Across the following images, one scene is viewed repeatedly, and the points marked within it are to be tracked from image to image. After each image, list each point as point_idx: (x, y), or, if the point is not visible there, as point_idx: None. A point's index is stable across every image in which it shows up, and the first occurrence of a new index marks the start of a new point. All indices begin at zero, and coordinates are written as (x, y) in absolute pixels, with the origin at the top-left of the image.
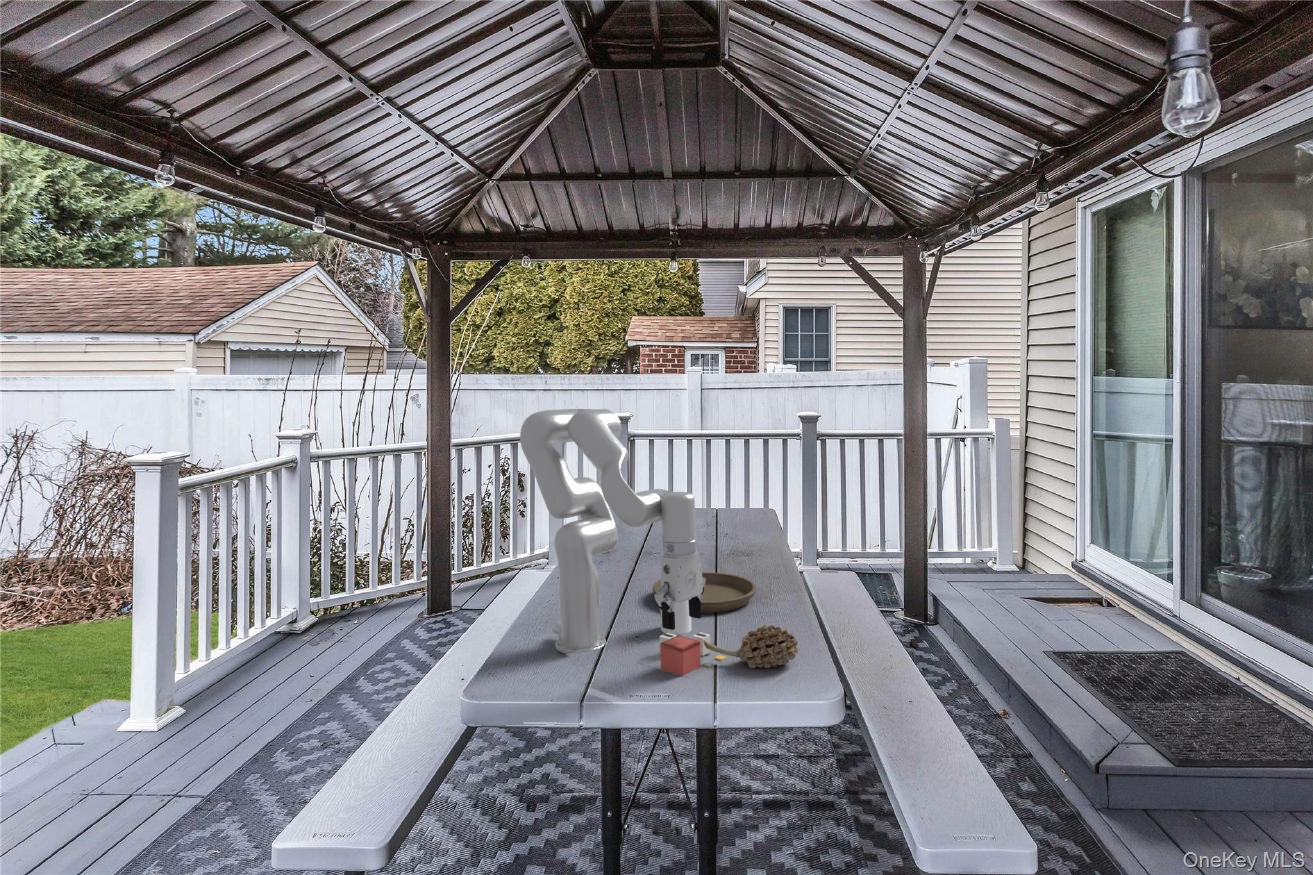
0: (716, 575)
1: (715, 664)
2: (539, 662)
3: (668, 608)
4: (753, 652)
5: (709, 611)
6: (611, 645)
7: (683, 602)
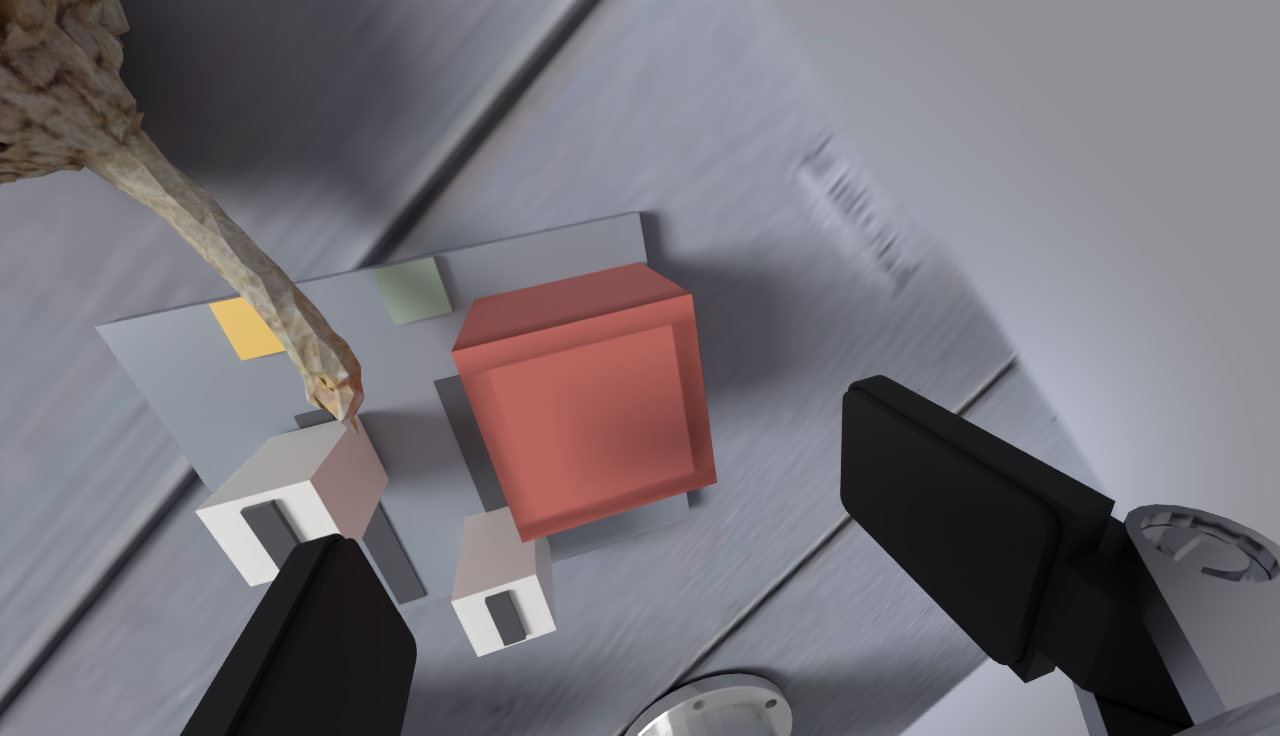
0: None
1: (359, 270)
2: (870, 669)
3: (1273, 579)
4: None
5: None
6: (614, 714)
7: None
